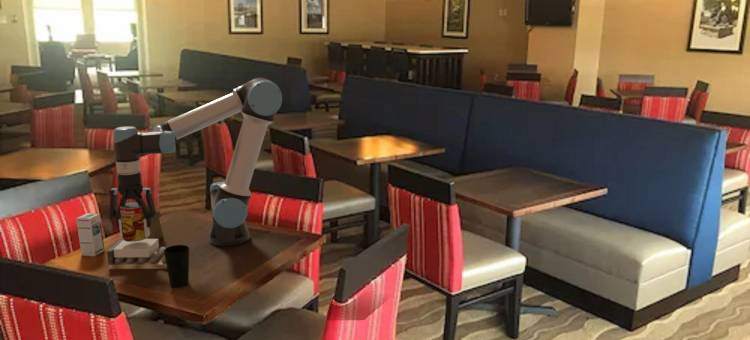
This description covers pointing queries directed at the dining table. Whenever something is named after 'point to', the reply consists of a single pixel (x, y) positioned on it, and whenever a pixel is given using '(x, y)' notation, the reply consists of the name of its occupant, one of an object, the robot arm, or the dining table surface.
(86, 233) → the syrup box
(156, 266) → the roller bed
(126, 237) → the canned food
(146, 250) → the slab
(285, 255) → the dining table surface
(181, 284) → the cup
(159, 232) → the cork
